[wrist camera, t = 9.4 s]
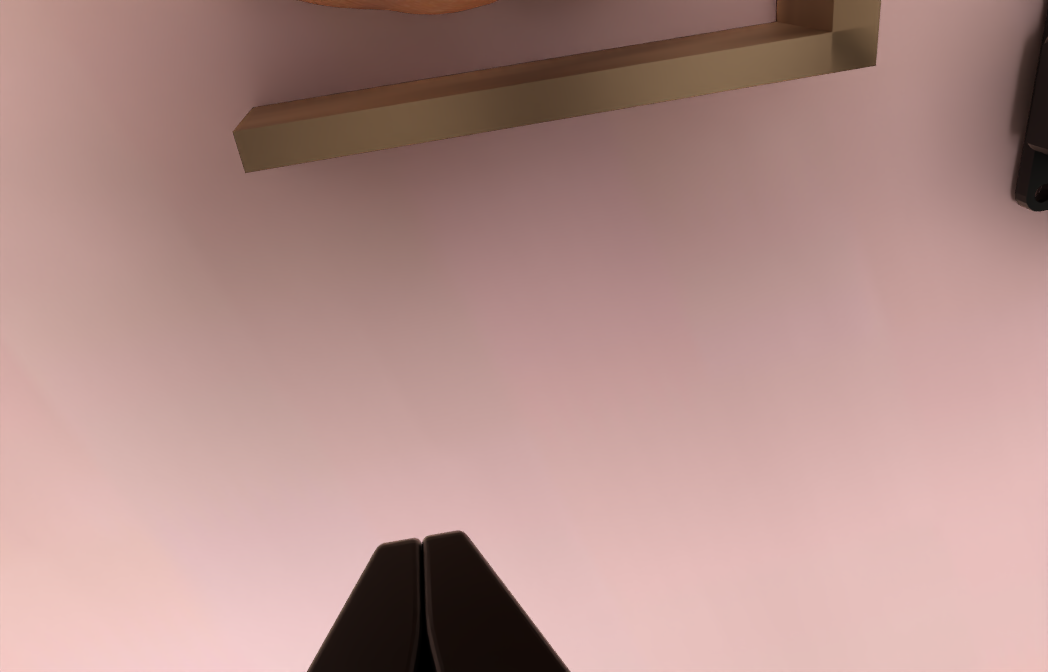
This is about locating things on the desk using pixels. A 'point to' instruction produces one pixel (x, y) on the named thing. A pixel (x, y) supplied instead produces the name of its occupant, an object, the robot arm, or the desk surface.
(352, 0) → the bull figurine
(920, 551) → the desk surface
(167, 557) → the desk surface
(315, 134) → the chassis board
